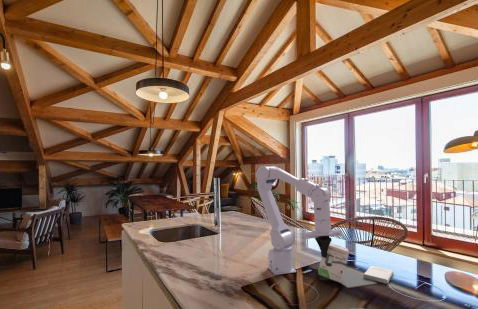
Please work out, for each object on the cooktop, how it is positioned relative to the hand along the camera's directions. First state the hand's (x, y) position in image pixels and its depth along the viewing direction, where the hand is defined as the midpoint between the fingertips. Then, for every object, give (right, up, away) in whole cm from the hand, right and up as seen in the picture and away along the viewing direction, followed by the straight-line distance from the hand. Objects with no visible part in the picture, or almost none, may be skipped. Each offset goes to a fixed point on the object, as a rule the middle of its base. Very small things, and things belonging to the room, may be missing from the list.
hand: (324, 256), depth 97 cm
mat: (+11, -10, +4) cm, 15 cm away
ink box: (+2, -8, +1) cm, 9 cm away
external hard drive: (+23, -10, +5) cm, 25 cm away
